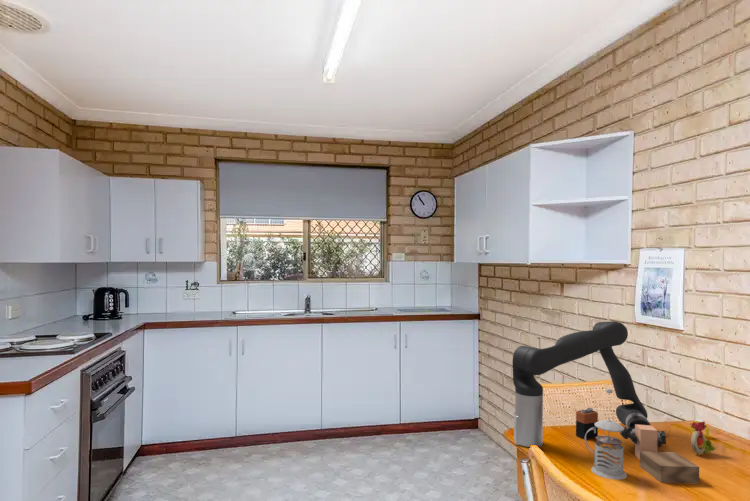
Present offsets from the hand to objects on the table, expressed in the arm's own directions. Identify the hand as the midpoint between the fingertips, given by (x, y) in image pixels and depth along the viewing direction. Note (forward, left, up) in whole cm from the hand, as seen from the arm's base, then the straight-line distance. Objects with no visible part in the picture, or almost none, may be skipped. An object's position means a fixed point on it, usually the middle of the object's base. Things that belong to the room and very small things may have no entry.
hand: (647, 442), depth 153 cm
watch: (+28, +30, -6) cm, 42 cm away
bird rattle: (+20, +11, -6) cm, 24 cm away
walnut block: (+2, -10, -6) cm, 12 cm away
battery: (-14, +19, -6) cm, 24 cm away
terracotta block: (0, +2, -6) cm, 6 cm away
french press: (-16, -12, -6) cm, 21 cm away
